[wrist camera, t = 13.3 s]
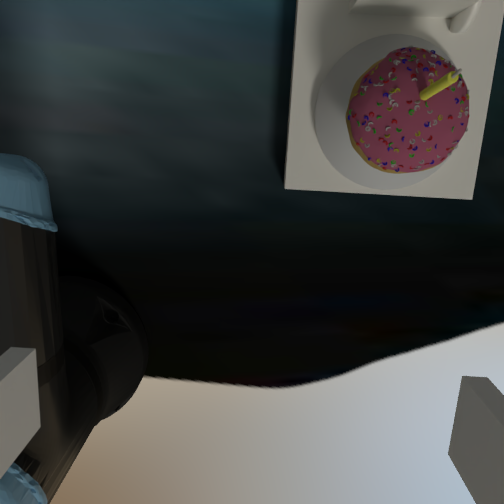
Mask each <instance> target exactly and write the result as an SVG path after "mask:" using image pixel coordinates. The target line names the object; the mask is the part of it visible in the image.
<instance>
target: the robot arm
mask: <svg viewBox="0 0 504 504" xmlns="http://www.w3.org/2000/svg"><path fill="white" fill-rule="evenodd" d="M56 231H58V228H57V224H56V223H55V222H54V221H53V215H52V209H51V202H50V194H49V187H48V181H47V178H46V175H45V174H44V172H43V170H42V169H41V168H40V167H39V166H38V165H37V164H36V163H35V162H33V161H32V160H30V159H28V158H26V157H23V156H19V155H13V154H4V153H0V504H50V502H51V500H52V498H53V497H54V495H55V493H56V492H57V490H58V488H59V486H60V484H61V483H62V481H63V479H64V478H65V476H66V474H67V473H68V471H69V469H70V467H71V466H72V464H73V462H74V461H75V459H76V457H77V455H78V453H79V452H80V450H81V448H82V447H83V445H84V443H85V442H86V440H87V438H88V436H89V434H90V433H91V431H92V429H93V428H94V426H96V425H97V424H98V423H99V422H100V421H101V420H103V419H105V418H107V417H109V416H111V415H112V414H114V413H115V412H117V411H118V410H119V409H121V408H122V407H123V406H124V405H125V404H126V403H127V402H128V401H129V399H130V398H131V397H132V396H133V394H134V393H135V391H136V389H137V388H138V385H139V384H140V382H141V380H142V378H143V376H144V373H145V370H146V367H147V363H148V352H149V351H148V340H147V335H146V332H145V329H144V326H143V324H142V322H141V320H140V318H139V316H138V315H137V313H136V311H135V310H134V309H133V307H132V306H131V305H130V304H129V303H128V302H127V301H126V300H125V299H124V298H123V297H122V296H121V295H120V294H118V293H117V292H116V291H114V290H113V289H111V288H110V287H108V286H106V285H104V284H102V283H100V282H97V281H95V280H92V279H88V278H84V277H79V276H58V263H57V249H56V236H55V232H56ZM448 455H449V456H450V458H451V460H452V462H453V464H454V465H455V467H456V469H457V471H458V472H459V474H460V476H461V478H462V479H463V481H464V483H465V485H466V487H467V488H468V490H469V492H470V494H471V495H472V497H473V499H474V501H475V503H476V504H504V395H503V394H502V393H501V392H500V391H499V390H498V389H497V387H496V386H495V385H494V384H493V383H492V382H491V381H490V380H489V379H488V378H487V377H470V376H462V380H461V385H460V392H459V397H458V402H457V407H456V413H455V419H454V424H453V430H452V435H451V441H450V446H449V452H448Z"/></svg>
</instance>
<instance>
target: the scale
mask: <svg viewBox="0 0 504 504" xmlns="http://www.w3.org/2000/svg"><path fill="white" fill-rule="evenodd" d="M503 15H504V0H297V2H296V16H295V30H294V45H293V59H292V73H291V87H290V101H289V115H288V130H287V144H286V158H285V172H284V188H285V189H298V190H315V191H332V192H349V193H367V194H384V195H401V196H418V197H436V198H453V199H470V200H472V197H473V191H474V185H475V179H476V174H477V168H478V162H479V156H480V150H481V144H482V138H483V132H484V126H485V121H486V115H487V109H488V103H489V97H490V91H491V85H492V79H493V73H494V68H495V62H496V56H497V50H498V44H499V38H500V32H501V26H502V20H503ZM411 45H412V46H413V47H417V48H423V49H428V50H429V51H431V50H434V51H435V54H437V55H439V56H441V57H443V58H444V59H448V61H451V63H452V65H453V66H454V67H455V68H456V69H457V70H458V69H460V68H461V69H462V71H461V75H462V77H463V79H464V81H465V83H466V86H467V89H468V90H469V115H470V116H469V120H468V125H467V128H468V131H467V132H466V131H465V133H464V135H463V137H462V138H461V140H460V141H459V143H458V147H457V146H456V147H457V149H454V150H453V151H452V152H451V153H452V154H451V155H449V156H448V157H447V158H446V159H445V160H444V161H443V162H442V163H441V164H439V165H437V166H435V167H433V168H430V169H428V170H424V171H419V172H411V173H401V174H393V173H387V172H383V171H380V170H378V169H375V168H373V167H371V166H370V165H368V164H367V163H366V162H365V161H364V160H363V159H362V158H361V156H360V155H359V154H358V153H357V152H356V151H355V150H354V148H353V147H352V145H351V142H350V138H349V133H348V129H347V124H346V118H345V115H346V111H347V108H348V104H349V99H350V95H351V92H352V89H353V87H354V85H355V83H356V81H357V80H358V79H359V77H360V76H361V75H362V74H363V73H364V72H366V71H367V70H368V69H369V68H370V67H371V66H372V65H373V64H374V63H376V62H378V61H379V60H381V59H383V58H385V57H386V56H387V55H388V53H390V52H391V51H393V50H396V49H400V48H404V47H408V46H411ZM432 52H433V51H432ZM433 53H434V52H433ZM466 130H467V129H466ZM456 147H455V148H456Z"/></svg>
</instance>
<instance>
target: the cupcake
mask: <svg viewBox="0 0 504 504" xmlns="http://www.w3.org/2000/svg"><path fill="white" fill-rule="evenodd" d="M432 51H433V52H434V53H433V52H432ZM461 71H462V69H461V68H460V69H458V70H457V69H456V68H455V67H454V66H453V65H452V63H451V61H448V59H444V58H443V57H441V56H439V55H437V54H435V51H434V50H431V51H429V50H428V49H423V48H417V47H413V46H412V45H411V46H408V47H404V48H400V49H396V50H393V51H391V52H390V53H388V55H387V56H386V57H385V58H383V59H381V60H379V61H378V62H376V63H374V64H373V65H372V66H371V67H370V68H369V69H368V70H367V71H366V72H364V73H363V74H362V75H361V76H360V77H359V79H358V80H357V81H356V83H355V85H354V87H353V89H352V92H351V95H350V99H349V104H348V108H347V111H346V115H345V118H346V124H347V129H348V133H349V138H350V142H351V145H352V147H353V148H354V150H355V151H356V152H357V153H358V154H359V155H360V156H361V158H362V159H363V160H364V161H365V162H366V163H367V164H368V165H370V166H371V167H373V168H375V169H378V170H380V171H383V172H387V173H393V174H401V173H411V172H419V171H424V170H428V169H430V168H433V167H435V166H437V165H439V164H441V163H442V162H443V161H444V160H445V159H446V158H447V157H448V156H449V155H451V154H452V153H451V152H452V151H453V150H454V149H457V147H458V143H459V141H460V140H461V138H462V137H463V135H464V133H465V131H466V132H467V131H468V128H467V125H468V120H469V116H470V115H469V90H468V89H467V86H466V83H465V81H464V79H463V77H462V75H461ZM466 129H467V130H466ZM456 146H457V147H456ZM455 147H456V148H455Z"/></svg>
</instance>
